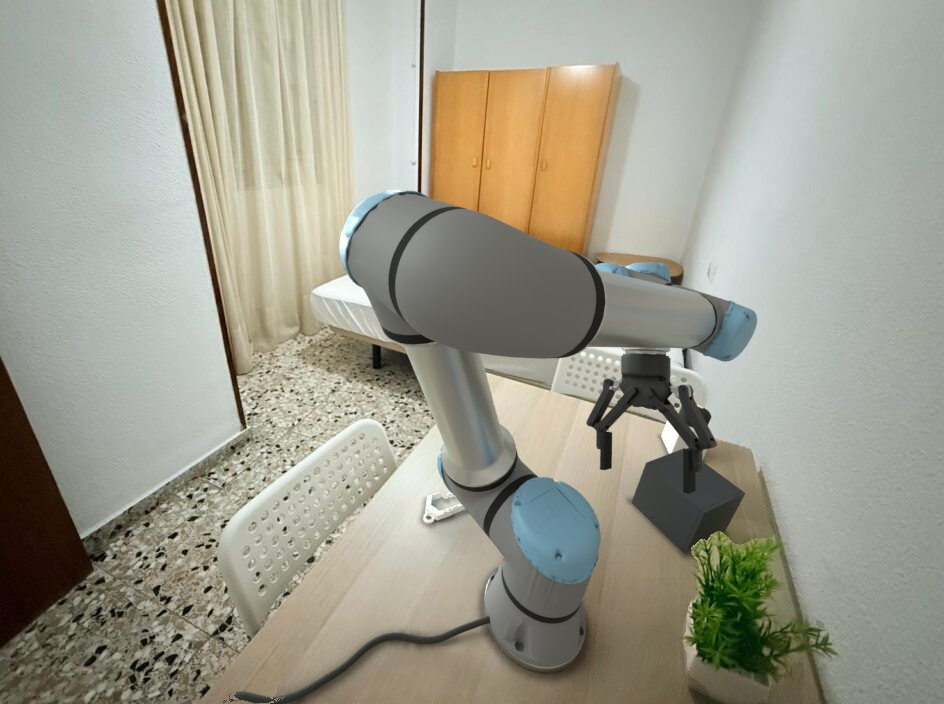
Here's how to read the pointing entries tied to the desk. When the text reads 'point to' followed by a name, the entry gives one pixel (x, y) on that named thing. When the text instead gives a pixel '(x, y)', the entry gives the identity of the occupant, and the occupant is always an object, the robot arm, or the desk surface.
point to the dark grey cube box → (685, 501)
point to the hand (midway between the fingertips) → (644, 479)
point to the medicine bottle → (673, 438)
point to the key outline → (437, 513)
